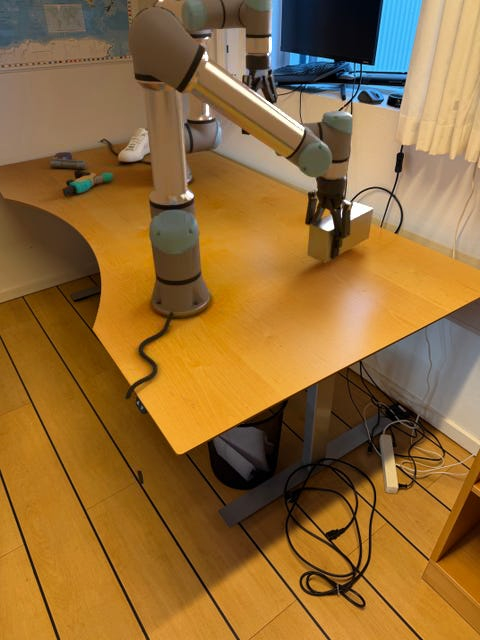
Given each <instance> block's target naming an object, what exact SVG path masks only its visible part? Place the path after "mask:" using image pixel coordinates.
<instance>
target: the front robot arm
mask: <svg viewBox="0 0 480 640" xmlns="http://www.w3.org/2000/svg"><path fill="white" fill-rule="evenodd" d="M151 6H152V5H151ZM151 6H147V7H144V8H142V9H141V10H140V11H138V12H137V13H136V14H135V16H134V18H133V19H132V21H131V24H130V27H129V30H128V37H127V41H128V42H127V43H128V49H129V53H130V55H131V57H132V58H131V59H132V65H133V66H132V67H133V75H134V81H135V82H136V83H137V84H138V85H139V86H141V88H142V93H143V102H144V111H145V119H146V129H147V131H148V140H149V149H150V153H149V156H150V162H151V164H150V166H151V167H150V168H151V175H152V185H153V190H152V191H151V192H150V193H149V194H148V202H149V211H150V218H151V220H150V222H149V226H148V227H149V230H148V237H149V241H150V245H151V253H152V260H153V268H154V274H155V275H154V276H155V281H154V284H153V290H152V294H151V305H152V308H153V310H154V311H155V312H156V313H157V314H159V315H160V316H163V317H167V319H166V321H165V323H164V326H163V328H162V329H161V330H160V331H159V332H157V333H155V334H153V335H151V336H150V337H147V338H145V339H144V340H142V341H141V342H140V344H139V346H138V353H139V355H140V357H141V358H142V359H144V360H145V361H146V362H147V363H149V364H150V365H151V368H152V371H151V372H150V373H149V374H148V375H146V376H144V377H142V378H140V379H137V381H135V382H134V383H132V384H131V385H130V387H129V388H128V390H127V391H126V394H125V400H130V399H131V397H132V394H133V393H134V391H135V390H136V389H137V387H139V386H140V385H142V384H145V383H146V382H149V381H150V380H152V379H153V378H155V376H156V375H157V373H158V365H157V363H156V362H155V361H154V360H153V359H152V358H151V357H150V356H148V355H147V354H146V353H145V352H144V347H145V346H146V345H147V344H149V343H151V342H152V341H155V340H156V339H158V338H160V337H162V336H163V335H164V334H165V333H166V332H167V331H168V329H169V327H170V324H171V321H172V319H183V318H185V319H186V318H190V317H194V316H196V315H199V314H201V313H202V312H204V311H205V310H207V308H208V307H209V306H210V303H211V292H210V290H209V288H208V286H207V284H206V281H205V278H204V277H203V275H202V262H201V261H202V259H201V247H200V227H199V224H198V221H197V219H196V207H195V193H194V192H193V191H192V190H191V189H190V188H189V187H188V184H187V172H186V160H187V156H186V157H185V142H184V127H183V122H184V114H183V112H184V111H183V101H182V100H183V97H182V95H183V94H188V93H191V94H192V95H193V96H195V97H196V98H198V99H199V100H201V101H202V102H204V103H205V104H207V105H208V106H210V107H211V109H212V110H214V111H215V112H217V113H219V114H220V115H221V116H223V118H226V119H227V120H229V121H230V122H232V123H233V124H235V125H236V126H238V127H239V128H241V130H242V129H244V130H245V131H246V132H248V133H249V134H250V135H251V136H252V137H254V138H255V139H256V140H258V141H260V142H261V143H262V144H264V145H265V146H267V147H268V148H269V149H271V150H273V151H274V154H275V155H276V156H277V157H283V158H284V159H286V161H289V163H291V164H293V165H294V166H296V167H297V168H298V169H299V171H300V172H301V173H303V175H305V176H307V177H309V178H317V181H316V189H317V190H316V189H312V190H310V191H308V193H307V199H308V201H307V207H306V213H305V220H304V224H305V225H306V226H309V227H310V224H311V223H313V222H315V221H318V220H320V219H322V218H323V215H324V213H325V211H326V210H327V211H329V215H330V214H331V215H332V219H333V224H334V230H335V237H334V238H333V243H332V252H331V260H334V259H336V258H337V257H339V256H340V255H339V248H341V247H342V242H343V239H344V238H346V237H348V236H350V224H351V209H352V206H353V203H354V202H353V201H348V200H346V199H345V195H344V194H345V190H346V187H347V174H348V169H349V168H348V167H349V158H350V150H351V142H352V135H353V125H354V123H353V121H354V119H353V116H352V114H350V112H347V111H344V110H343V111H342V110H331V111H326V112H324V113H323V114H322V118H321V121H317V122H299V123H298V122H297V121H296V120H294V118H292V117H290V116H288V115H287V114H286V113H285V112H283V111H282V110H281V109H279V108H278V107H276V106H275V105H274V104H273V105H272V104H271V103H270V102H268V101H267V100H266V99H265V97H264V96H262V95H260V94H259V93H257V92H255V91H253V90H252V89H251V88H249V87H248V86H247V85H245V84H244V83H243V82H242V80H240V79H239V78H238V77H236V76H234V75H233V74H232V73H231V72H229V71H228V70H226V69H225V68H224V67H222V66H221V65H220V64H218V63H217V62H216V61H214V60H213V59H212V58H210V57H209V54H208V55H207V50H206V48H205V47H203V46H202V45H200V44H199V43H198V42H197V41H195V40H194V39H193V38H192V37H191V36H190V35H189V34H188V33H187V32H186V31H185V29H184V28H183V26H182V24H181V22H180V20H179V19H178V18H177V16H176V15H175V14H174V13H173V12H171V11H170V10H168V9H166V8H164V7H157V6H152V7H151ZM341 209H343V210H342V217H341ZM136 473H137V477H138V478H137V479H138V482H139V485H143V484H144V483H145V482H144V476H143V471H142V470H139V469H138V470H136Z"/></svg>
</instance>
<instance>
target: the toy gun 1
mask: <svg viewBox="0 0 480 640" xmlns="http://www.w3.org/2000/svg"><path fill="white" fill-rule="evenodd" d="M48 165H49V166H50V167H53V168H58V169H76V170H86V166H87V161H85V160H79V159H73V154H72V152H71V151H60V152H57V153H55V154H54V158H51V159H50V161H49V163H48Z"/></svg>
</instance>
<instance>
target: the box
mask: <svg viewBox="0 0 480 640" xmlns="http://www.w3.org/2000/svg"><path fill="white" fill-rule="evenodd" d="M342 210H343V209H342V208H341V217H342ZM373 213H374V208H373V207H370V206H367V205H364V204H361V203H358V202H353V206H352V209H351V224H350V236H348V237H346V238H344V239H343V242H342V247H341V248H339V256H341V255H342V254H344V253H345V252H348V251H349V250H351V249H353V248H354V247H356V246H358V245H359V244H361V243H363V242H365V241H366V240H369V238H370V233H371V226H372V221H373V219H372V218H373ZM334 237H335V230H334V224H333V219H332V215H331V214H330V213H329V214H328V215H326V216H323V217H322V218H321V219H320V220H318V221H315V222H313V223H311V224H310V226H309V228H308V242H307V256H309V257H311V258H313V259H315V260H318V261H320V262H322V263H325V264H326V263H328V262H330V261H332V259H331V252H332V243H333V238H334Z"/></svg>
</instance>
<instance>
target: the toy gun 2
mask: <svg viewBox="0 0 480 640" xmlns="http://www.w3.org/2000/svg"><path fill="white" fill-rule="evenodd" d="M73 175H74V179H68V180H66V182H65V184H66V186H65V187H64V188H62V193H63V195H64V197H67V196H69V195H71V194H73V193H76V194H81V193H85V192H86V191H88V190H89V189H90V188H92V187H94V185H98V184H101V183H102V182H103V183H109V182H111V181H112V180H113V178H114V174H113V173H111V172H102V173H101V175H98V174H96V173H93V172H89V171H83V170H82V169H76V170H74V172H73Z"/></svg>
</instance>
